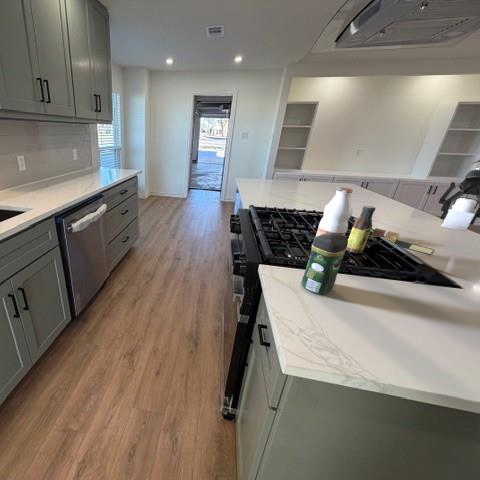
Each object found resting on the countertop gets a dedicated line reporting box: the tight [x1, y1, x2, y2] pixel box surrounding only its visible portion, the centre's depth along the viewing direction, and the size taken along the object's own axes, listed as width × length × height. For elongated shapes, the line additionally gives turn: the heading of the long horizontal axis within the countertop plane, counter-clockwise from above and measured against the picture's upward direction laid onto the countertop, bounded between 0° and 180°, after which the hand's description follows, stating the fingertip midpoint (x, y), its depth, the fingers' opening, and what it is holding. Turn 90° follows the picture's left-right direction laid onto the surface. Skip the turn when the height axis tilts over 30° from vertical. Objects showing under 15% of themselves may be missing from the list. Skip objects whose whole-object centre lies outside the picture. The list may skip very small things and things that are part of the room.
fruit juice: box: [315, 186, 354, 237], centre depth 99 cm, size 9×9×28 cm
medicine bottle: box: [440, 196, 479, 232], centre depth 101 cm, size 7×7×12 cm
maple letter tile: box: [384, 230, 400, 243], centre depth 120 cm, size 4×4×4 cm
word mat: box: [367, 235, 434, 256], centre depth 118 cm, size 22×10×1 cm, turn 39°
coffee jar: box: [300, 232, 348, 295], centre depth 79 cm, size 10×8×19 cm
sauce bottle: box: [346, 205, 376, 254], centre depth 106 cm, size 7×6×20 cm
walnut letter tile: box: [370, 227, 387, 239], centre depth 123 cm, size 4×4×4 cm
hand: (456, 220), depth 100 cm, fingers closed on medicine bottle, 7 cm apart
